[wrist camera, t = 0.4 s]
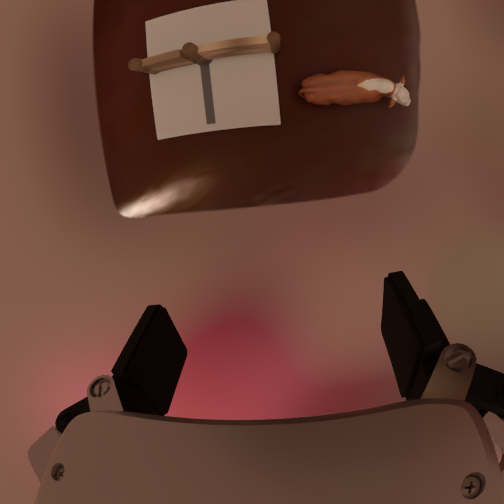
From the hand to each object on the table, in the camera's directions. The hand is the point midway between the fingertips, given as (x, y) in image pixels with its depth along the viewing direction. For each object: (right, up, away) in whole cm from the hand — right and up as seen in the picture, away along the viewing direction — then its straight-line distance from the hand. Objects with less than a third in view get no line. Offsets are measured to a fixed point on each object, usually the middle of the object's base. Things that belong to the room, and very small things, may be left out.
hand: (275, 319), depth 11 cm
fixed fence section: (-11, +28, +19) cm, 36 cm away
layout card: (-7, +27, +19) cm, 34 cm away
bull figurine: (+11, +24, +19) cm, 33 cm away
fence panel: (-3, +28, +17) cm, 33 cm away
